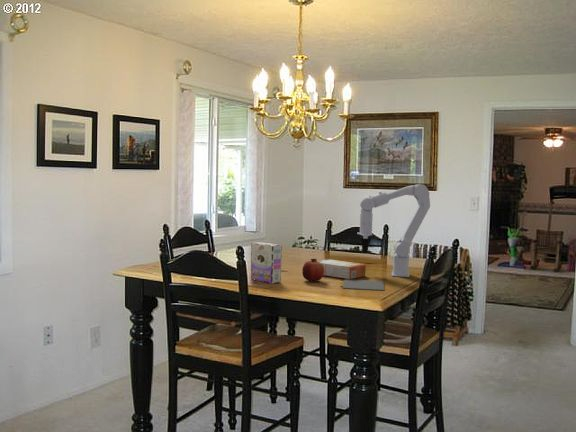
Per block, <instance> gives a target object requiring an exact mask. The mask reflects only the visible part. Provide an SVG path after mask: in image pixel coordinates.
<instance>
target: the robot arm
mask: <svg viewBox="0 0 576 432" xmlns="http://www.w3.org/2000/svg"><path fill="white" fill-rule="evenodd" d="M406 195H407V196H414V198H415V199H416V202H417V205H418V206H417V209H416V210H415V212H414V214H413V216H412V218H411V219H410V221H409V223H408V225H407V227H406V229H405V231H404V233H403V235H402V236H401V237H400V239H399V240H398V241H397V242H396V243H395V244H394V245H393V249H394V253H395V254H393V260H392V261H393V262H392V271H391V277H402V278H410V273H409V271H410V270H409V269H410V268H409V266H410V255H409V253H410V248H411V245H412V242H413V240H414V237H415V236H416V234H417V232H418V231H419V229H420V227H421V224H422V223H423V222H424V221H423V220H424V219H425V217H426V215H427V213H428V211H429V210H430V207H431V200H430V191H429V189H428V187H427V186H426V185H425V184H422V183H417V184H414V185H412V184H411V185H408V186H405V187H402V188H399V189H397V190H393V191H391V192H388V193H387V192H385V191H383V192H382V191H378V193H377V194H374V195H369V196H368V197H366V198H362V200H361V202H360V203H359V206H360V214H359V215H360V216H359V232H357V233H356V234H357V235H360V236H359V241H360V243H361V250H362V253H365V254H366V253H368V252H369V246H370V243H371V241H372V236H373V215H374V214H373V209H376V208H379V207H382V206H384V205H387V204H389V202H390V201H391V200H394V199H397V198H400V197H403V196H406Z"/></svg>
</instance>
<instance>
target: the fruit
mask: <svg viewBox="0 0 576 432" xmlns="http://www.w3.org/2000/svg"><path fill="white" fill-rule="evenodd" d="M318 261H319V260H318V259H317V258H311V259H310V260H308V261H306V262H305V263H304V264H303V266H302V269H301V270H302V276H303V278H304V279H305V280H307V281H308V282H319V281H320V280H322V279H323V277H324V276H325V275H324V266H323V265H322V264H321V263H320V262H318Z"/></svg>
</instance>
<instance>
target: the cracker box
mask: <svg viewBox="0 0 576 432" xmlns="http://www.w3.org/2000/svg"><path fill="white" fill-rule="evenodd" d="M317 261H318V262H320V263H321V264H322V265H323V266H324V275H323V276H328V277H334V278H340V279H344V280H345V279H351V280H354V279H357V278H361V277H362V278H363V277H365V276H366V268H367V264H365V263H358V262H350V261H343V260H336V259H322V260H317Z"/></svg>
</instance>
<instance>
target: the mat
mask: <svg viewBox="0 0 576 432" xmlns="http://www.w3.org/2000/svg"><path fill="white" fill-rule="evenodd" d="M384 286H385V284H384V281H383V280H370V279H368V280H365V279H345V278H344V280H343V284H342V289H343V290H344V289H345V290H359V291H360V290H361V291H362V290H365V291H380V292H382V291H383V292H384V291H385V287H384Z"/></svg>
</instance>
